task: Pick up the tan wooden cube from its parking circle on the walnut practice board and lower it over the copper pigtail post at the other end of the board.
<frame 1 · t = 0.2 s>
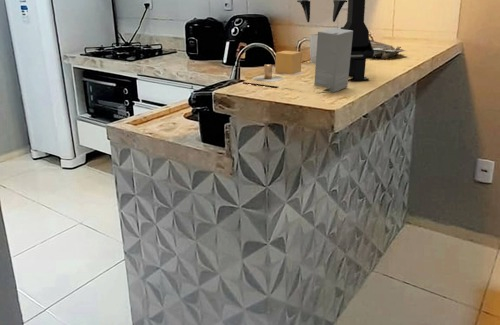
hand: (321, 21, 167), 14 cm above the table, fingers open, 9 cm apart
white cup: (320, 64, 172), on the table
skincare box: (331, 89, 134), on the table
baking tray: (367, 56, 194), on the table
pigtail post: (267, 82, 142), resting on practice board
tan wooden cube: (288, 72, 151), point 1 cm above the table, touching practice board
practice board: (278, 79, 147), on the table
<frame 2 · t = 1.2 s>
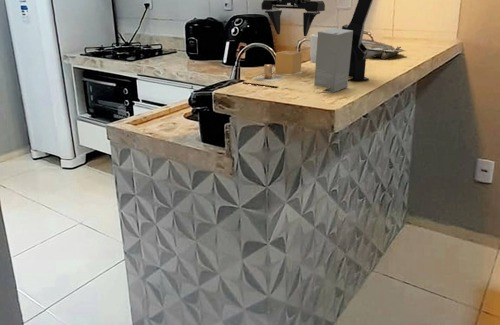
hand: (291, 35, 149), 12 cm above the table, fingers open, 9 cm apart
nothing on the table moved.
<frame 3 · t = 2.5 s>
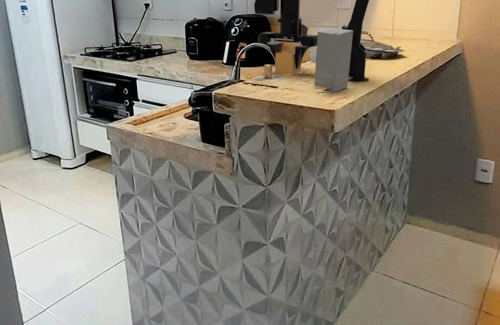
hand: (288, 67, 151), 3 cm above the table, fingers closed on tan wooden cube, 6 cm apart
tan wooden cube: (288, 72, 151), point 1 cm above the table, touching gripper, practice board
everything else where it was.
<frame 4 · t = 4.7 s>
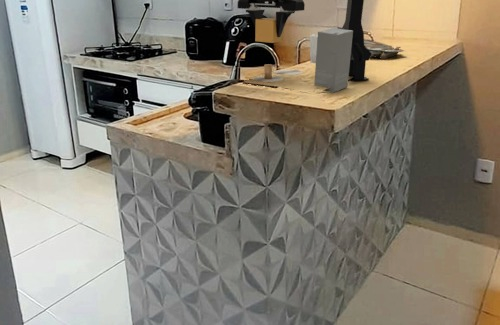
hand: (269, 36, 138), 13 cm above the table, fingers closed on tan wooden cube, 6 cm apart
tan wooden cube: (269, 41, 139), point 12 cm above the table, touching gripper
everything else where it was.
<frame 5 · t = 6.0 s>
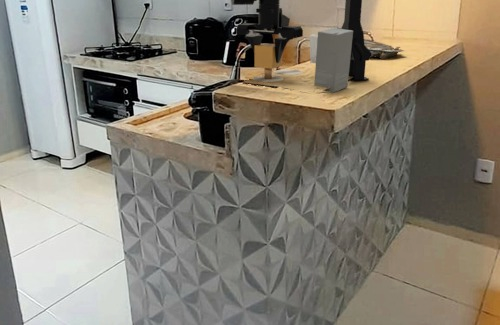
hand: (268, 61, 140), 6 cm above the table, fingers closed on tan wooden cube, 6 cm apart
tan wooden cube: (268, 66, 140), point 5 cm above the table, touching gripper
everything else where it was.
when the fingers open (4 cm above the table, at t = 6.9 s): tan wooden cube drops 2 cm, resting on practice board.
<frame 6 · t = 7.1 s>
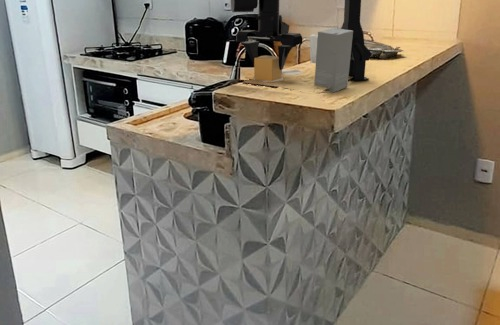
hand: (268, 68, 141), 4 cm above the table, fingers open, 8 cm apart
tan wooden cube: (268, 78, 142), point 1 cm above the table, touching practice board
everything else where it was.
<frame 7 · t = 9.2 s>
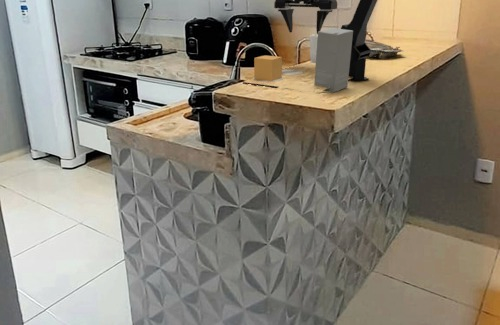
hand: (304, 33, 152), 12 cm above the table, fingers open, 9 cm apart
nothing on the table moved.
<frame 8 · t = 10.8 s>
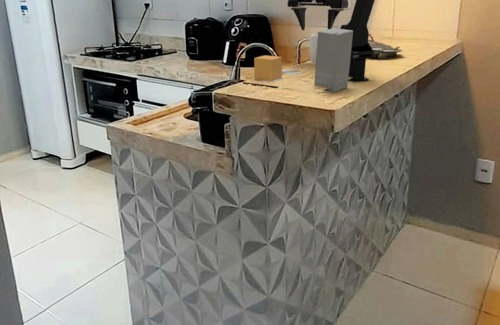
hand: (316, 31, 158), 12 cm above the table, fingers open, 9 cm apart
nothing on the table moved.
at the end: tan wooden cube 0.0 cm from the pigtail post (horizontally); tan wooden cube point 1.3 cm above the table; tan wooden cube tilted 0° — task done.
